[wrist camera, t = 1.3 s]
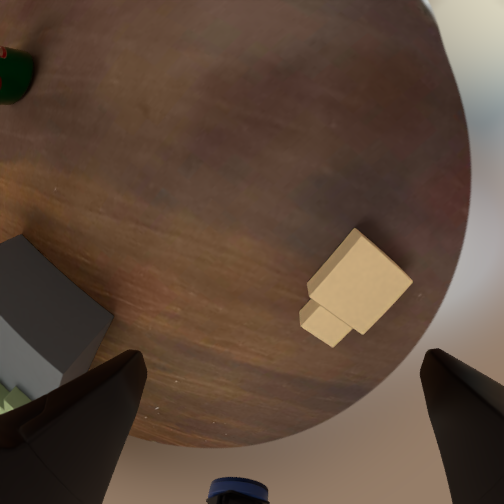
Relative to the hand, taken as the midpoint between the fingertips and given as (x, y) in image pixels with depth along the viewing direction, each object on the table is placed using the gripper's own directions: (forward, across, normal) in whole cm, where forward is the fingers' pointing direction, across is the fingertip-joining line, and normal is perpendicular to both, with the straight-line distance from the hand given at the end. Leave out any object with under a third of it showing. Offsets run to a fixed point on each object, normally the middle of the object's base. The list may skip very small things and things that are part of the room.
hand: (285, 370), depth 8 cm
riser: (+12, +23, +8) cm, 27 cm away
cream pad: (+12, -4, +3) cm, 13 cm away
